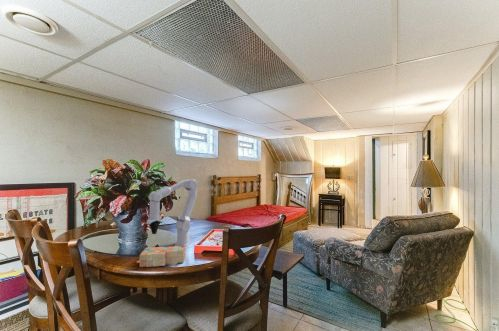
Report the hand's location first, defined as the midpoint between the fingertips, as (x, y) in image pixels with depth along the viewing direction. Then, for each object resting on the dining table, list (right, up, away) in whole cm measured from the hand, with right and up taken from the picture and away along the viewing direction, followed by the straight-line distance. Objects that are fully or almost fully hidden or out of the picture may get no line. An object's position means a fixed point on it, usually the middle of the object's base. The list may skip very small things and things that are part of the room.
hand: (154, 233), depth 143 cm
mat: (+10, -10, -17) cm, 22 cm away
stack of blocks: (+12, -7, -13) cm, 19 cm away
